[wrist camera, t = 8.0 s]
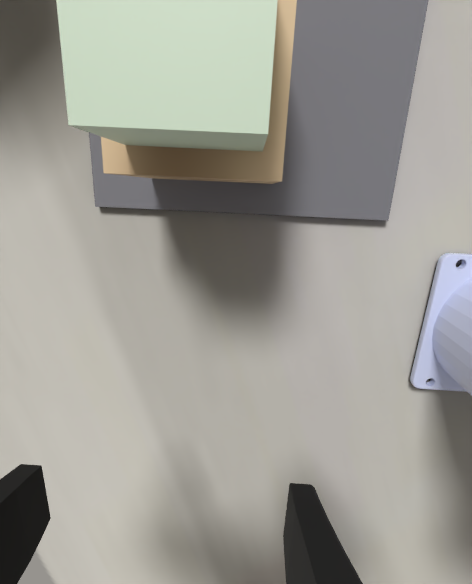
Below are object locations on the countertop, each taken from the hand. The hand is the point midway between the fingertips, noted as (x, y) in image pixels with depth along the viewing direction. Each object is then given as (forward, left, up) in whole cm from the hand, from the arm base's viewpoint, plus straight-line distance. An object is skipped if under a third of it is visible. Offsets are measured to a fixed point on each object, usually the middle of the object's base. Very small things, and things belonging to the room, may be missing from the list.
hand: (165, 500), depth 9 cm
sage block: (0, -12, -4) cm, 13 cm away
